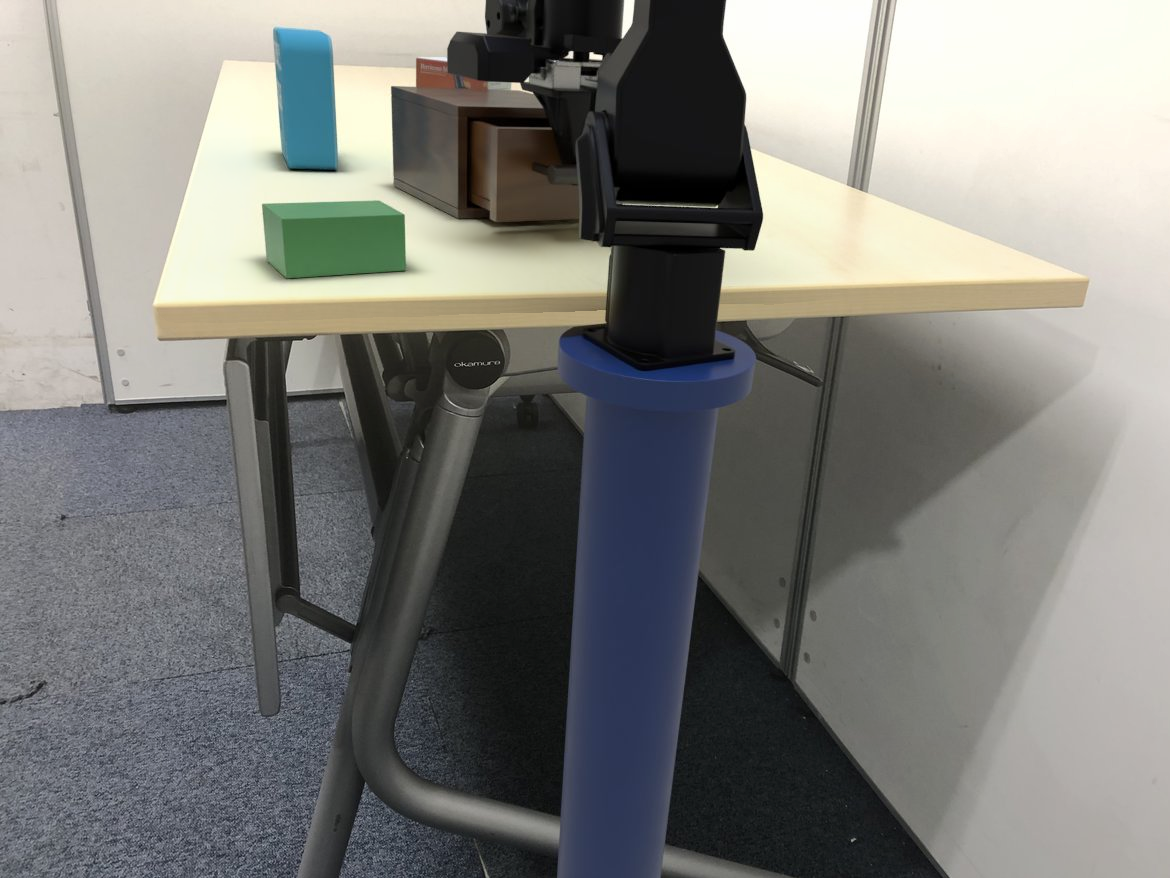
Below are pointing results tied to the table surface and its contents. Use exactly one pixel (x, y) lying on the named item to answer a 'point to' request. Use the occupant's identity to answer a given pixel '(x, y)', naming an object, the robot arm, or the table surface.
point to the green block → (334, 238)
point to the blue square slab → (306, 98)
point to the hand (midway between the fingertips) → (574, 184)
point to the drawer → (519, 171)
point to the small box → (448, 76)
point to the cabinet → (445, 139)
